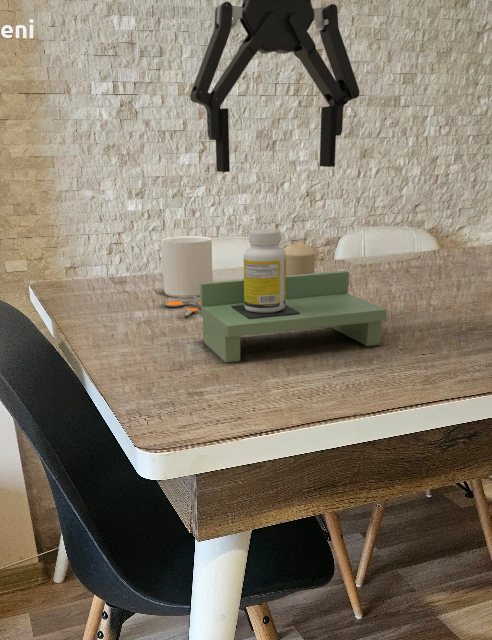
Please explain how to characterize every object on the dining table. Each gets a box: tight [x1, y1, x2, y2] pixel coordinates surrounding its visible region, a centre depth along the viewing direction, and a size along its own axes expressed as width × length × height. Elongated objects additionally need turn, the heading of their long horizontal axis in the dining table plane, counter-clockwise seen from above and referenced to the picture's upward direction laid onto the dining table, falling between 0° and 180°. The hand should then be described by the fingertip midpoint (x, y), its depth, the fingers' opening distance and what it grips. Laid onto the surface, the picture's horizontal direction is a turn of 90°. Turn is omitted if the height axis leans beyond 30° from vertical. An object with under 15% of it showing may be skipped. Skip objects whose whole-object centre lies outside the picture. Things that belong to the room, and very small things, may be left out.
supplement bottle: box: [243, 228, 286, 313], centre depth 85 cm, size 5×5×10 cm
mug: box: [160, 235, 214, 298], centre depth 122 cm, size 12×9×9 cm
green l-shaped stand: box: [199, 270, 388, 364], centre depth 90 cm, size 12×22×8 cm, turn 108°
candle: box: [283, 241, 316, 276], centre depth 110 cm, size 6×6×10 cm
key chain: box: [164, 296, 201, 317], centre depth 111 cm, size 13×7×1 cm, turn 21°
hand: (276, 169), depth 81 cm, fingers open, 13 cm apart
